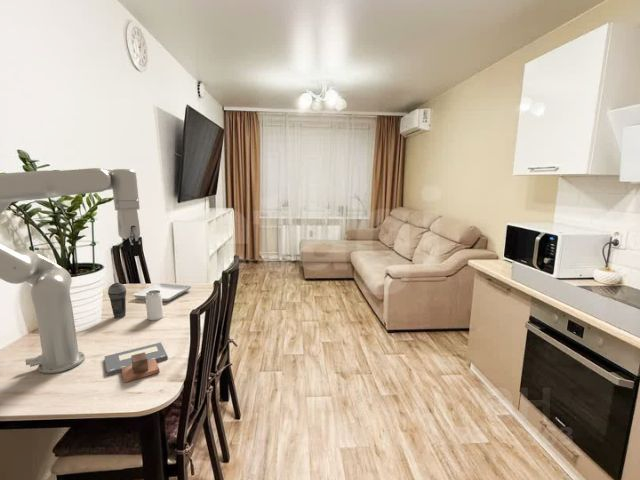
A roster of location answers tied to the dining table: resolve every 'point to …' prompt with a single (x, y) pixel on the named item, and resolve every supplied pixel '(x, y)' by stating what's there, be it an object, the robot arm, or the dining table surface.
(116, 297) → the beverage cup
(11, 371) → the dining table surface
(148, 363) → the wooden t-shaped block
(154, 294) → the can
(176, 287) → the salad plate
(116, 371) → the board
